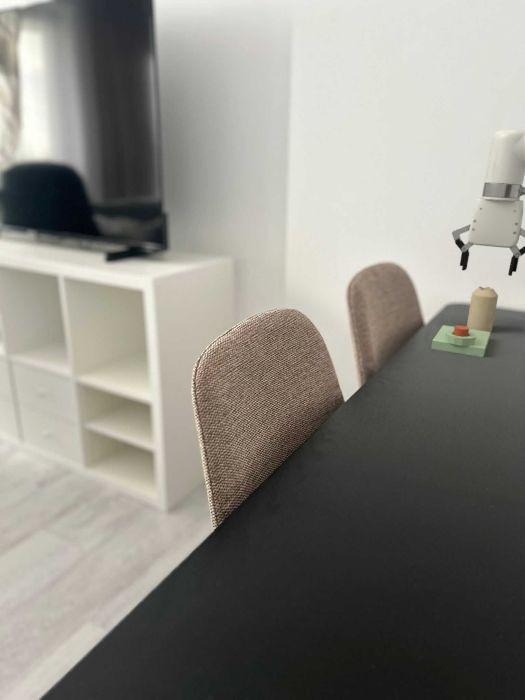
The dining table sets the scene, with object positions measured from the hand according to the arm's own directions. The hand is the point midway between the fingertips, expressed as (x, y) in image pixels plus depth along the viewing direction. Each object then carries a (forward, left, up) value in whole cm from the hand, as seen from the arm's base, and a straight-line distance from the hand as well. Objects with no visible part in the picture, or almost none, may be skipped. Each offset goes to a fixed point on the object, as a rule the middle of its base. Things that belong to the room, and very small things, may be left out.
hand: (486, 272), depth 115 cm
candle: (0, 0, -14) cm, 14 cm away
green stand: (-1, +14, -14) cm, 19 cm away
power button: (-2, +18, -10) cm, 21 cm away
